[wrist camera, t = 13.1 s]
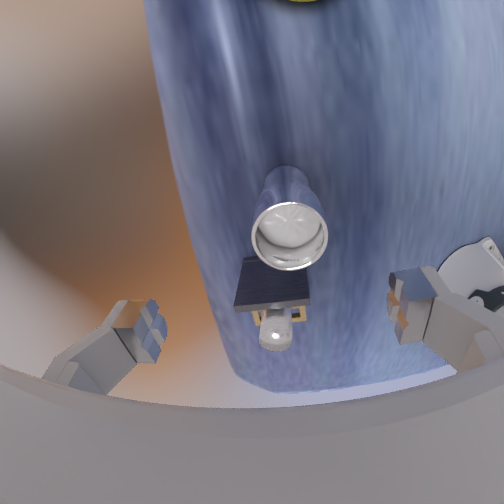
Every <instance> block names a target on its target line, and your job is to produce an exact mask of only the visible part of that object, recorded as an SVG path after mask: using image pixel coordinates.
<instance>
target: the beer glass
mask: <svg viewBox="0 0 504 504" xmlns="http://www.w3.org/2000/svg"><path fill="white" fill-rule="evenodd" d="M263 188H264V191H263V192H262V194H261V195H260V197H259V198H258V200H257V203H256V206H255V209H254V213H253V220H252V235H251V238H252V244H253V247H254V250H255V252H256V253H257V255H258V256H259V258H260V259H261V260H262V261H264V262H265V263H266V264H268V265H269V266H271V267H274V268H276V269H280V270H286V271H293V270H299V269H303V268H306V267H308V266H310V265H311V264H313V263H314V262H316V261H317V260H318V259H319V258H320V257H321V255H322V254H323V252H324V251H325V249H326V246H327V242H328V229H327V226H326V219H325V214H324V211H323V208H322V205H321V203H320V201H319V199H318V197H317V196H316V194H315V193H314V192H313V191H312V190H311V189H310V188H309V182H308V179H307V177H306V175H305V174H304V173H303V172H302V171H301V170H299V169H298V168H296V167H293V166H288V165H284V166H279V167H276V168H274V169H273V170H272V171H270V172H269V173H268V175H267V176H266V178H265V180H264V186H263Z"/></svg>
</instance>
